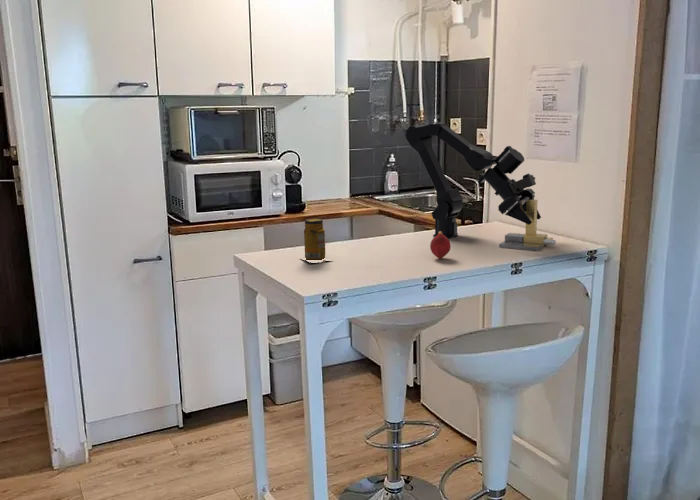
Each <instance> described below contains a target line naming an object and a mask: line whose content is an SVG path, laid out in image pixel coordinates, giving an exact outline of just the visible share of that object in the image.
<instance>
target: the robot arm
mask: <svg viewBox="0 0 700 500" xmlns="http://www.w3.org/2000/svg"><path fill="white" fill-rule="evenodd" d="M404 137H405V139H406V141H407V143H408V144H409V146H410V147H411V148H412V149H413V150H414V151H415V152H417V154H418V156H419V157H420V159H421V162H422V164H423V167H424V168H425V170H426V172H427V175H428V177H429V178H430V180H431V184H432V186H433V187H434V190H435V191H436V193H435V194H436V195H435V199H436V205H437V207H436V208H435V209H434V210H433V211H432V212H431V216H432V219H433V220H434V224H435V225H434V234H432V237H433V238H434V237H435V236H437V235H438V233H439V232H440V231H441V232H442V234H443V235H444V236H445V237H447V238H448V239H450V238H454V237H455V236H458V235H459V233H458V221H457V217H458V216H459V213H460V211H461V210H463V206H464V201H463V199H464V197H462V194H461V192H460V189H459V187H455V188H453V187H452V186H451V185H450V183H449V181H448V178H447V177H446V174H445V173H444V171H443V168H442V167H441V164H440V162H439V160H438V158H437V155H436V153H435V151H434V149H433V137H437V138H439V139H440V140H441V141H443V142H444V143H445V144H447V145H448V146H449V147H450V148H452V149H453V150H454V151H456V152H457V153H458V154H460V155H461V156H462V158H463V159H464V162H465V163H466V164H467V165H468V167H470V168H471V170H473V171H475V172H479V171H484V170H486V171H485V172H483V173H480V174H478V183H479V184H482V183H485V182H486V183H487V184H488V185H490V187H491V188H492V189H493V190H494V191H495V192H494V194H495V195H496V196H499V197H500V198H501V199H502V200H503V201H502V202H501V203H500V204H499V205H498V206H497V207H498V208H497V209H498V210H497V211H499V213H500V214H501V215H505V216H508V217H510V218H512V219H515V220H517V221H519V222H521V223H524V224H525V225H526V224H528V225H530V224H531V223H532V221H531V220H530V218H529V217H528V215H527V214H526V201H527V200H529V199H532V200H535V197H536V195H535V194H536V192H535V191H534V190H533V189H532V188H530V187H533V186H535V185H537V182H536V177H535V176H534V175H533V174H531V173H526V174H524V175H522V178H520V179H518V180H516V179H513V178H509V177H508V175H507V174H510V175H512V173H514V172H515V171H516V170H517V169H518V168H519V167H520V166H521V165H522V163H524V162H525V157H524V156H523V154H522V153H521V152H520V151H518V150H517V149H515V148H513V147H512V146H510V145H507V146H505V147H504V148H503V151H501V153H500V154H499V155H498V156H497V155H493V154H492V153H491V152H490V151H488V150H486V149H484V148H481V147H478V146H476V145H473V144H472V143H470V142H469V141H468V140H466V139H465V138H464V137H463V136H461V135H460V134H458V132H456V131H454V130H453V129H452V128H451V127H449V126H447V124H446V123H445V122H442V121H441V122H434V123H432V124H429V125H424V124H421V125H411V126H409V127H408V128H407V129H406V131H405V135H404ZM492 166H493V167H492ZM541 218H542V216H541V214H540V212H539V210H538V209H537V221H539V220H541Z"/></svg>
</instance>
